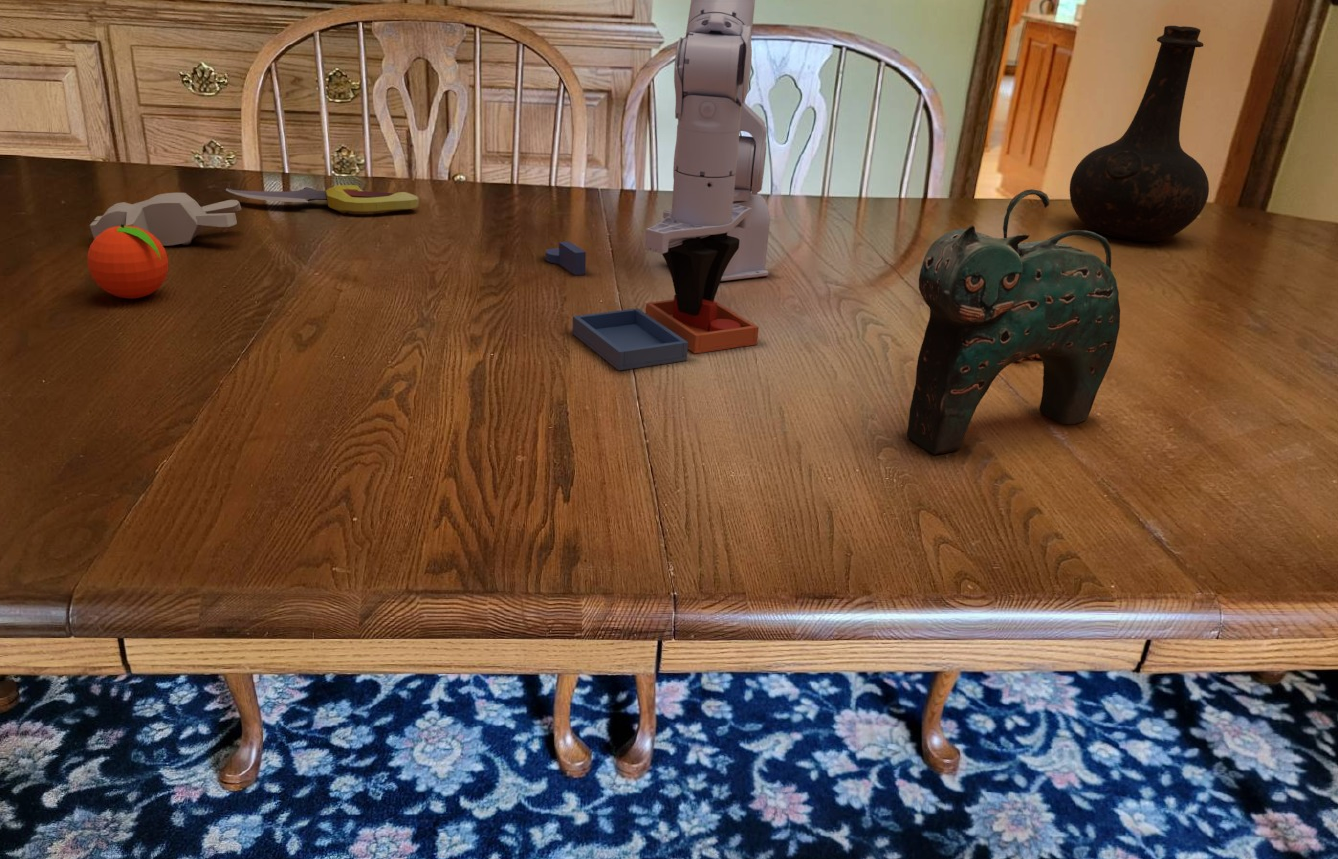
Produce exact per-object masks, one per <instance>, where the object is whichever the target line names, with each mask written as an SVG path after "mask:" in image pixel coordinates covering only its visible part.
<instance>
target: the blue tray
mask: <svg viewBox="0 0 1338 859" xmlns="http://www.w3.org/2000/svg"><path fill="white" fill-rule="evenodd" d="M572 335H573V336H575V337H576V338H577V339H578V340H580V341H581V342H582V343H583V344H585V345H586V346H587V347H588V348H590V349H591V350H592V351H593V352H595V354H597V355H598V356H600V357H601V358H602V359H603V360H604V361H606V362H607V363H608V364H609V365H611V366H612V367H613V368H614V369H615V370H617V371H618V372H620V371H625V370H626V371H627V370H632V369H638V368H647V367H652V366H653V367H654V366H658V365H667V364H671V363H678V362H685V361H686V362H687V361H688V342H687V341H685V340H684V339H683V338H681V337H680V336H678V335H677V334H675V333H674V332H672V331H671V330H669V329H668V328H666V327H665V326H663V325H662V324H660V323H659V322H657V321H656V320H655V319H653V318H652V317H650V316H649V315H647V314H646V312H644V311H643V310H641V309H640V308H637V307H636V308H629V309H621V310H612V311H605V312H595V313H589V314H580V315H573V316H572Z"/></svg>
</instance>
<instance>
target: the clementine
mask: <svg viewBox="0 0 1338 859" xmlns="http://www.w3.org/2000/svg"><path fill="white" fill-rule="evenodd" d="M87 251H88V252H87V268H88V270H89V273H90V277H91V278H92V279H93V281H94V282H95V284H96V285H98V286H99V287H100V288H101V289H102V290H104V291H105V292H106V293H108V294H110V295H112V296H115V297H117V298H121V299H129V300H133V299H134V300H135V299H140V298H143V297H147V296H150V295H151V294H153V293H154V292H156V291H157V290H158V289H159V288H160V287H161V286H162V284H163V283H164V282H165V280H166V278H167V275H168V272H169V258H168V254H167V251H166V249H165V246H163V245H162V244H161V242H160V241H159V240H158V239H157V238H156V237H155V236H154V235H153V234H151V233H149V232H147V231H146V230H144V229H142V228H139V227H136V226H124V225H122V224H121V226H116V227H111V228H108V229H106V230H105V231H103V232H102V233H101V234H99V235H98V236H97V237H96V238H95V239H94V238H93V241H92V242H91V244H90V245H89V248H88V250H87Z"/></svg>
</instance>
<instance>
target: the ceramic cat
mask: <svg viewBox="0 0 1338 859" xmlns="http://www.w3.org/2000/svg"><path fill="white" fill-rule="evenodd" d="M1030 195H1031V196H1037V197H1038V198H1039V199H1040V200H1041V202H1042V204H1043V207H1044V209H1046V208H1048V207H1049V206H1050V198H1049V196H1048V193H1045V192H1043V191H1042V190H1037V189H1034V188H1033V189H1032V188H1031V189H1025V190H1023V191H1021V192H1020V193H1018V194H1016V195H1015V196H1014V197H1013V198H1012V199H1011V200H1010V202H1009V204H1008V206H1007V208H1006V213H1005V216H1004V218H1003V225H1002V232H1003V237H1000V238H999V237H992V236H990V235H987V234H985V233H982V232H979V231H976V228H975V226H974V224H971V225H970V226H969V227H967V228H966V229H964V228H955V229H953V230H950V231H947V232H946V233H944V234H942V235H941V236H940V237H939V238H937V239H936V240H935V241H933V243H932V244H931V245H930V247H929V248H928V250H927V251H926V254H925V255H924V257H923V261H922V265H921V267H920V271H919V276H918V290H919V293H920V295H921V297H922V299H923V300H924V303H925V304H926V305H927V306H928V308H929V318H928V322H927V325H926V328H925V330H924V335H923V338H922V339H923V340H922V343H921V347H920V349H919V353H918V357H917V363H916V368H915V370H916V371H915V384H914V389H913V394H912V398H911V403H910V406H909V415H908V423H907V430H906V431H907V432H906V437H907V438H908V439H909V440H911V441H912V442H913V443H915V444H916V445H917V446H919V447H920V448H922V449H924V450H925V451H927V452H928V453H930V454H932V455H933V456H935V455H940V454H941V455H942V454H947V453H950V452H951V453H952V452H957V451H958V450H960V449H961V448H962V445H963V443H964V439H965V437H966V434H967V432H968V429H969V427H970V424H971V421H972V419H973V416H974V414H975V412H976V409H977V408H978V406H979V404H980V402H981V400H982V399H983V398H984V396H985V395H986V393H987V392H988V390H989V389H990V387H991V385H992V383H993V382H994V380H995V379H996V378H997V376H998V375H999V374H1000V373H1001V372H1002V371H1003V370H1004V369H1005V368H1006V367H1008V366H1009V365H1011V364H1014V363H1016V362H1019V361H1018V360H1020V359H1022V358H1024V359H1025V358H1028V357H1027V356H1030V355H1034V354H1038V355H1039V356H1040V357H1041V358H1040V360H1041V362H1042V365H1043V370H1042V371H1043V373H1042V374H1043V375H1042V376H1043V377H1042V393H1041V398H1040V404H1039V408H1038V409H1039V410H1038V411H1039V412H1040V414H1042V415H1043V416H1046V417H1049V418H1050V419H1051V420H1052V421H1054V422H1056V423H1059V424H1063V425H1075V424H1079V423H1083V422H1084V421H1086V420H1087V419H1088V418H1089V415H1090V413H1091V411H1092V408H1093V405H1094V402H1095V400H1096V396H1097V394H1098V392H1099V390H1100V387H1101V385H1102V383H1103V382H1104V378H1105V376H1106V374H1107V372H1108V369H1109V367H1110V365H1111V362H1112V361H1113V357H1114V354H1115V350H1116V347H1117V341H1118V336H1119V333H1120V326H1121V325H1120V324H1121V306H1120V301H1119V299H1120V298H1119V295H1120V292H1119V287H1118V284H1117V279H1116V277H1115V275H1114V273H1113V271H1112V250H1111V245H1110V243H1109V241H1108V239H1107V238H1106V237H1104V236H1103V235H1100V234H1098V233H1096V232H1095V231H1094V232H1093V231H1089V230H1085V229H1084V230H1083V229H1072V230H1071V229H1070V230H1067V231H1064V232H1061V233H1058V234H1056V235H1054V236H1052V237H1050V238H1047V239H1045V240H1039V241H1038V240H1037V241H1036V240H1035V241H1030V242H1029V241H1028V242H1023V241H1026V240H1027V239H1029V237H1030V234H1016V235H1012V236H1009V237H1008V227H1009V221H1010V215H1011V214H1012V211H1013V210H1014V208H1015V207H1016V205H1017V204H1018V203H1019V202H1020V201H1021V200H1022V199H1024V198H1025V197H1027V196H1030ZM1071 236H1081V237H1085V238H1087V239H1088V238H1090V239H1091V240H1092V239H1093V240H1096V241H1097V242H1099V243H1100V244H1101V246H1102V248H1103V249H1104V253H1105V262H1104V261H1103V260H1102V259H1101V258H1100V257H1099V256H1097V255H1095V254H1093V253H1092V252H1089V251H1087V250H1083V249H1080V248H1076V247H1074V246H1072V245H1070V244H1067V243H1062V242H1059V241H1061V240H1063V239H1065V238H1067V237H1071ZM1022 242H1023V243H1022Z"/></svg>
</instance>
